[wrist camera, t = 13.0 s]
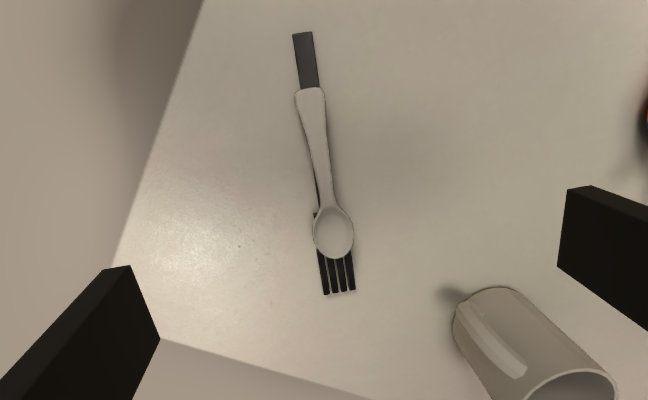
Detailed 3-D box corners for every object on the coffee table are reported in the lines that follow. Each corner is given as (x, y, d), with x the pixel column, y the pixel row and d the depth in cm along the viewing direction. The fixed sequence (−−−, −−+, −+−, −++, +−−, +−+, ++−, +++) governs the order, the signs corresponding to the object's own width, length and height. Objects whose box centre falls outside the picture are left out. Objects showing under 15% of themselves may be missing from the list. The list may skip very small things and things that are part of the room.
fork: (281, 36, 21) (281, 35, 20) (322, 30, 21) (323, 29, 20) (323, 291, 27) (324, 295, 27) (354, 286, 28) (355, 289, 27)
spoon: (316, 256, 26) (318, 268, 24) (284, 93, 22) (284, 92, 20) (354, 248, 26) (360, 259, 24) (328, 85, 22) (332, 83, 20)
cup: (485, 362, 32) (555, 462, 24) (411, 313, 29) (462, 408, 21) (542, 310, 31) (639, 397, 22) (471, 253, 28) (551, 329, 19)
